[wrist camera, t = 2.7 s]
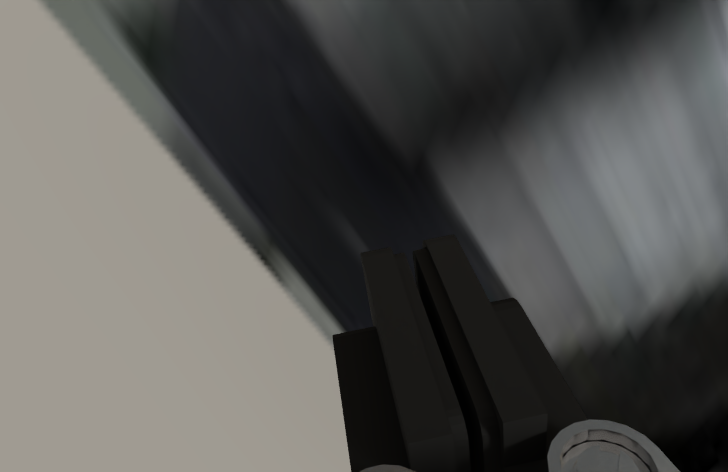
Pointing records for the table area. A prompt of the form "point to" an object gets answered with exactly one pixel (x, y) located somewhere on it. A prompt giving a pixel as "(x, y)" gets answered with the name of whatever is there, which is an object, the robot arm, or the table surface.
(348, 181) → the table surface
